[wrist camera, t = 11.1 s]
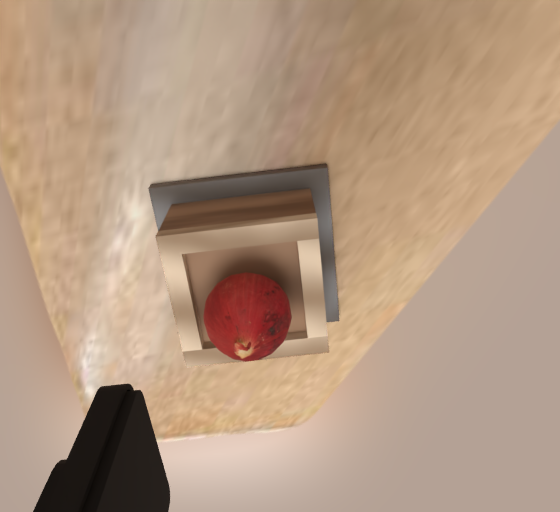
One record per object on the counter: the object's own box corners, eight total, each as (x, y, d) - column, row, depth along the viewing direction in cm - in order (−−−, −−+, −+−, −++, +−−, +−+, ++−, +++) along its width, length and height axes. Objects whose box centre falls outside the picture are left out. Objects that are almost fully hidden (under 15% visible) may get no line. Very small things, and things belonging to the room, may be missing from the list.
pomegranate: (281, 247, 37) (285, 305, 30) (294, 315, 40) (301, 384, 32) (201, 261, 37) (186, 321, 30) (219, 328, 40) (209, 398, 33)
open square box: (151, 184, 42) (128, 218, 35) (326, 163, 41) (338, 194, 34) (184, 331, 48) (170, 385, 41) (337, 314, 47) (349, 366, 40)
